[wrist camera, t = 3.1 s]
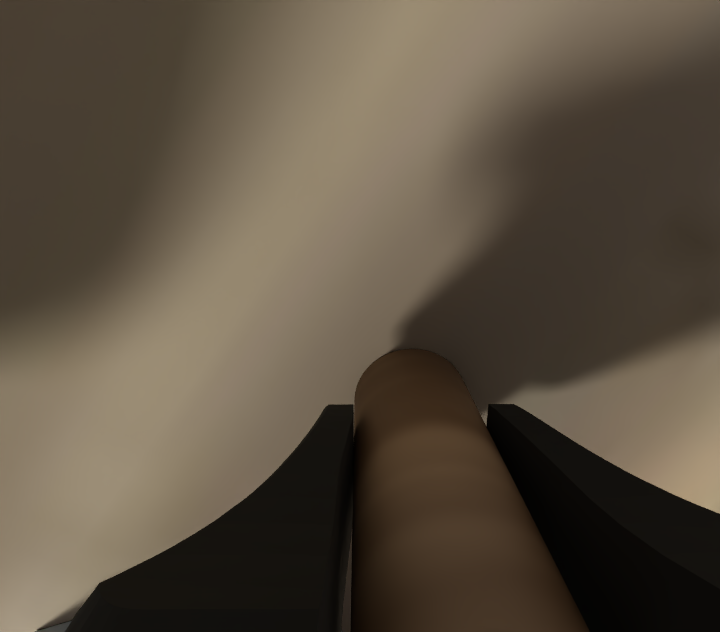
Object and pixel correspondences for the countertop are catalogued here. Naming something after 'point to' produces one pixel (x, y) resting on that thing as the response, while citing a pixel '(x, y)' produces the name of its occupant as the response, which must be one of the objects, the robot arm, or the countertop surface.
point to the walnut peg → (441, 514)
